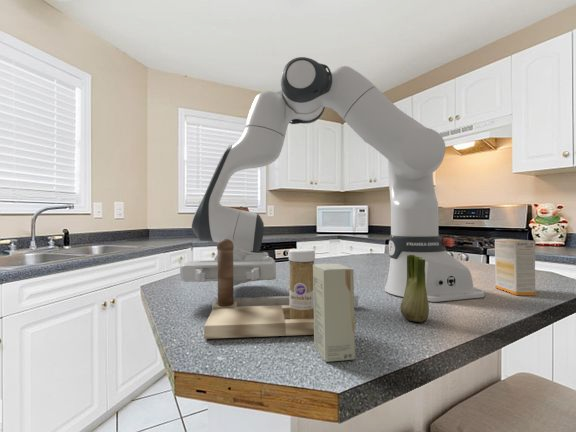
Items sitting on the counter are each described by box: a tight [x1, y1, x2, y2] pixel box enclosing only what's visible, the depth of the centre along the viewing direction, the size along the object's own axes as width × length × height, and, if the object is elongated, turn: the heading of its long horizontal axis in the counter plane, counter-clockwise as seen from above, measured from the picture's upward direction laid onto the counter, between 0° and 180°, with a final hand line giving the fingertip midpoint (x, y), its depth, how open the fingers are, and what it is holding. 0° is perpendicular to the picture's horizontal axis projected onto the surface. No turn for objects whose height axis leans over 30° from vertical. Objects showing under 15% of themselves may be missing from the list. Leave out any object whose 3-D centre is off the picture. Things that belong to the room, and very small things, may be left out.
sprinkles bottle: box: [288, 248, 316, 319], centre depth 56 cm, size 5×5×14 cm
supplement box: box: [494, 238, 536, 296], centre depth 79 cm, size 8×5×13 cm, turn 179°
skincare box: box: [313, 263, 356, 363], centre depth 45 cm, size 6×4×12 cm
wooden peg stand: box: [203, 239, 314, 340], centre depth 57 cm, size 20×14×15 cm
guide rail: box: [211, 293, 359, 311], centre depth 66 cm, size 30×2×2 cm, turn 95°
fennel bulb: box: [399, 255, 430, 323], centre depth 58 cm, size 6×5×12 cm
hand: (225, 277), depth 62 cm, fingers open, 8 cm apart
